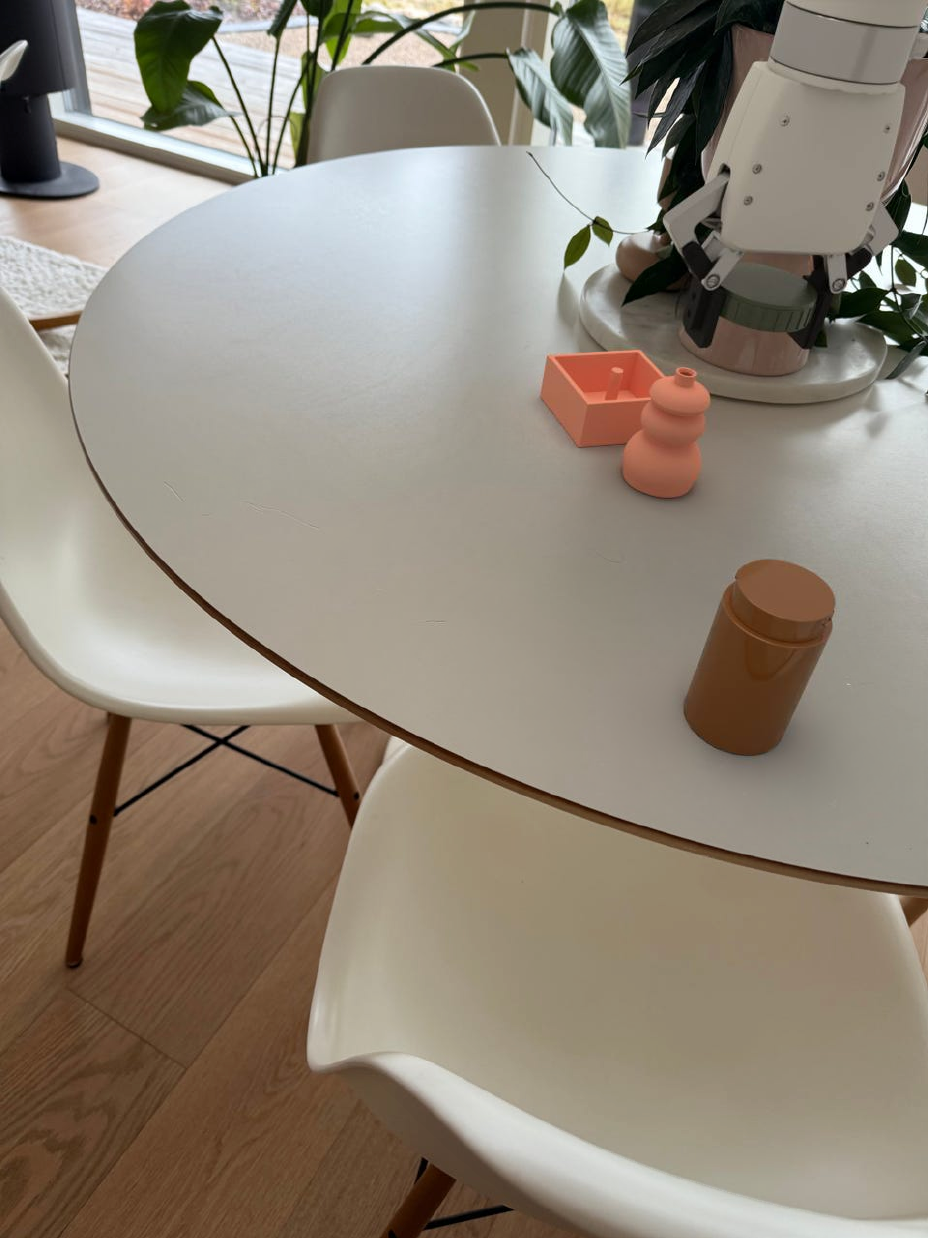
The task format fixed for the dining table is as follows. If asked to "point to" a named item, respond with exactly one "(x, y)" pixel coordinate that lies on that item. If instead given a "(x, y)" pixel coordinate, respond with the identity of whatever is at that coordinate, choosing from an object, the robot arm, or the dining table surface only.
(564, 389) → the pottery
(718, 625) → the jar
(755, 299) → the lid
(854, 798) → the dining table surface
